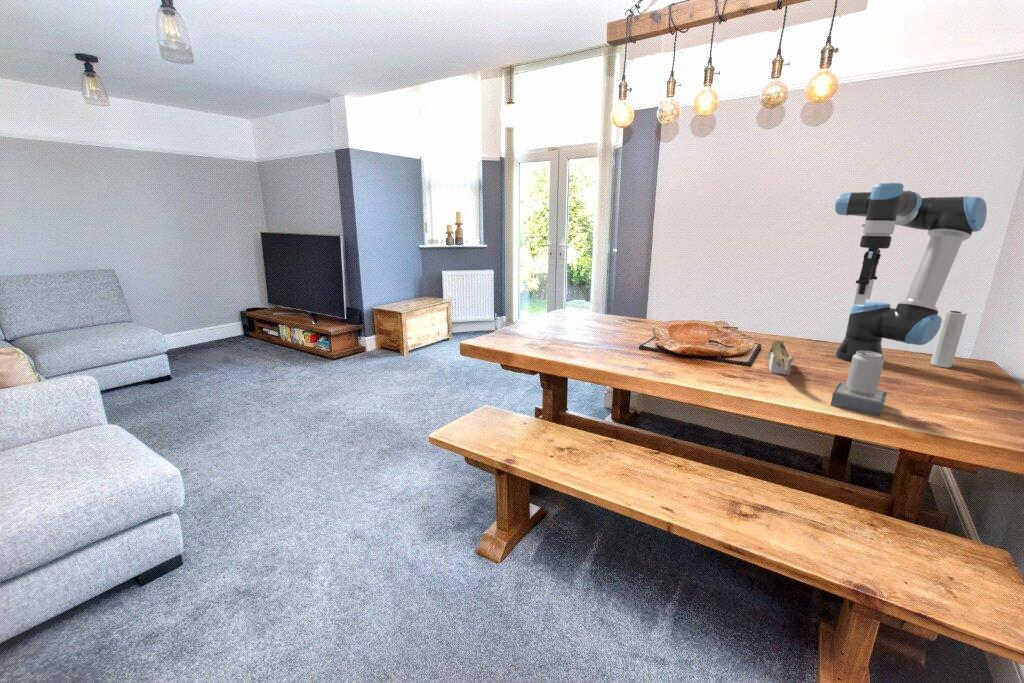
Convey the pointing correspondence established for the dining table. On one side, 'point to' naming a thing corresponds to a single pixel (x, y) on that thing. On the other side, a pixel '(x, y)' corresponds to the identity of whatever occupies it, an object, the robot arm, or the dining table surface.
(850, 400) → the plinth
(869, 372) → the can
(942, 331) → the paper towel roll
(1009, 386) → the dining table surface
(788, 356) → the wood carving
